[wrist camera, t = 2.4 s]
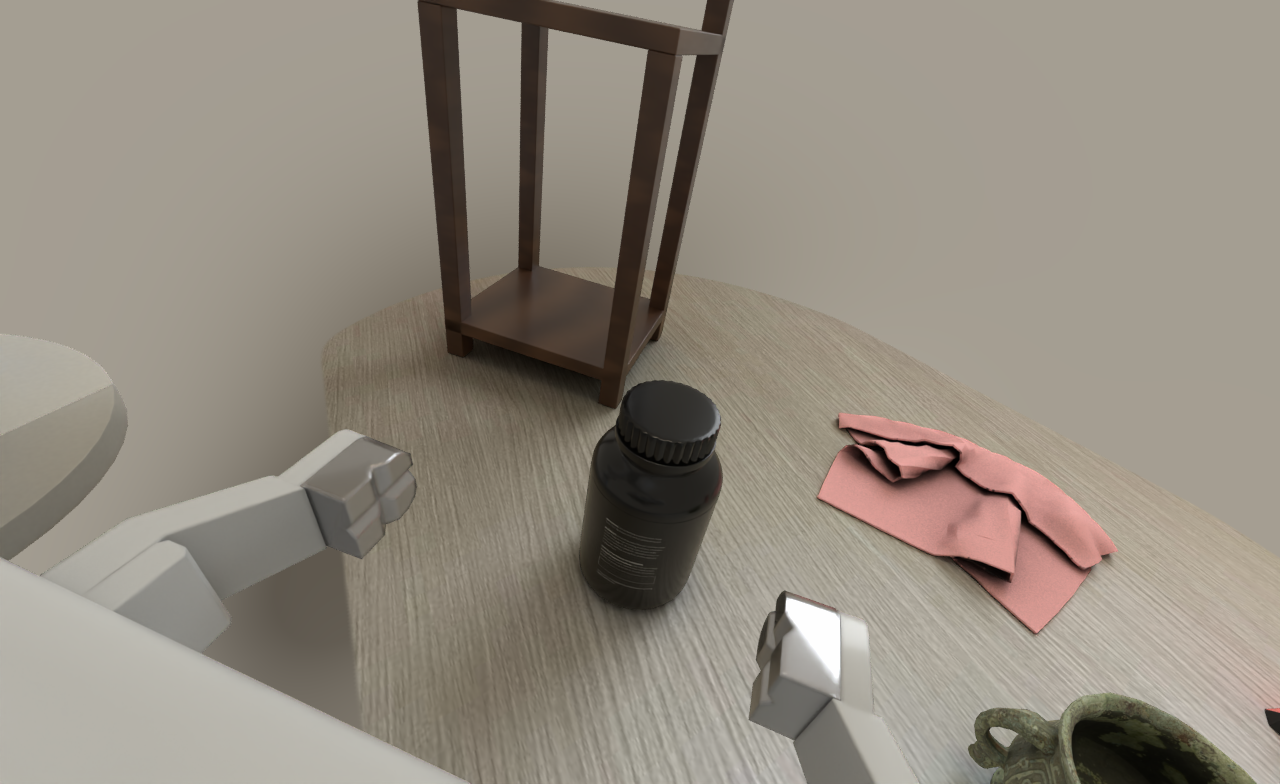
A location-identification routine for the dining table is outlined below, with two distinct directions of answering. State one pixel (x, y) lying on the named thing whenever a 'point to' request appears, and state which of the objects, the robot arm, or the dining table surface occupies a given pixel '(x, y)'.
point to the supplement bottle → (651, 495)
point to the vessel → (1101, 746)
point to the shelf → (532, 295)
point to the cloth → (968, 512)
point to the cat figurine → (1274, 718)
